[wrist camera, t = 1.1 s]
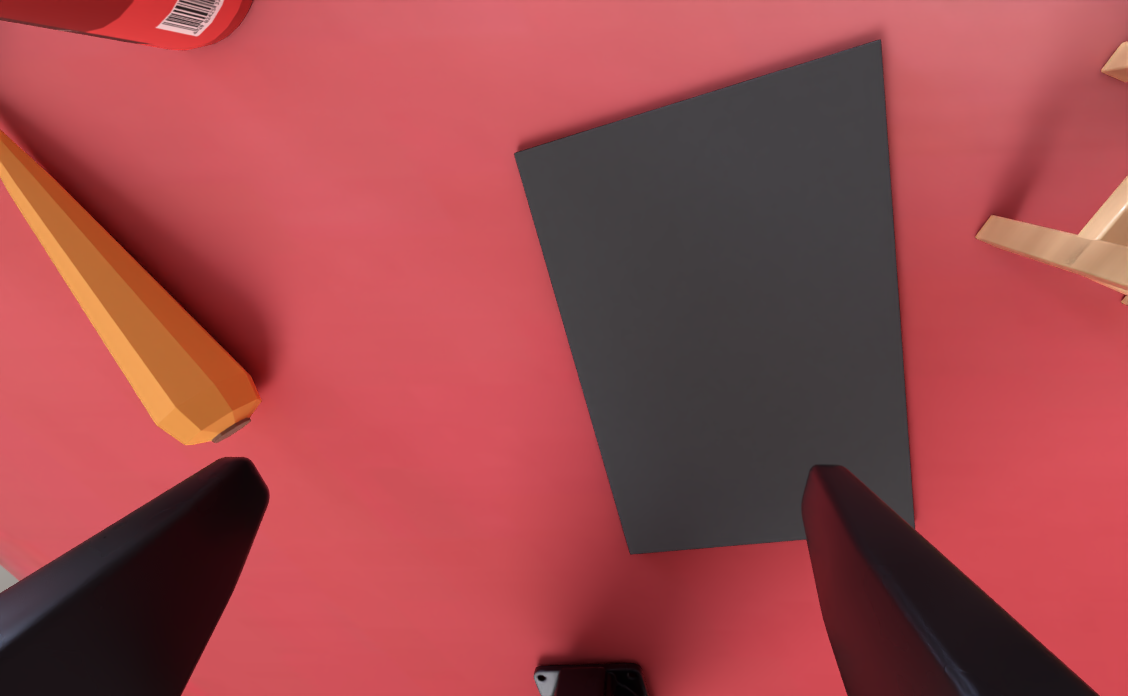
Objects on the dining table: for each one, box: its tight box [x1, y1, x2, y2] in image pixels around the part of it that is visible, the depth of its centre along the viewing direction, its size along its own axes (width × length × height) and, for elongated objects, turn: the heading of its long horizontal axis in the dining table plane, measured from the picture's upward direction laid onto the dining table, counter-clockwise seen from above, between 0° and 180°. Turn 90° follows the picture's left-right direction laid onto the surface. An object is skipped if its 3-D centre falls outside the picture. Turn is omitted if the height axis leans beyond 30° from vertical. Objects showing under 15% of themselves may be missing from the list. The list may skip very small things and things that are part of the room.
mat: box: [514, 40, 915, 554], centre depth 22 cm, size 20×13×1 cm, turn 16°
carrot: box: [0, 130, 262, 445], centre depth 24 cm, size 20×4×4 cm, turn 38°
